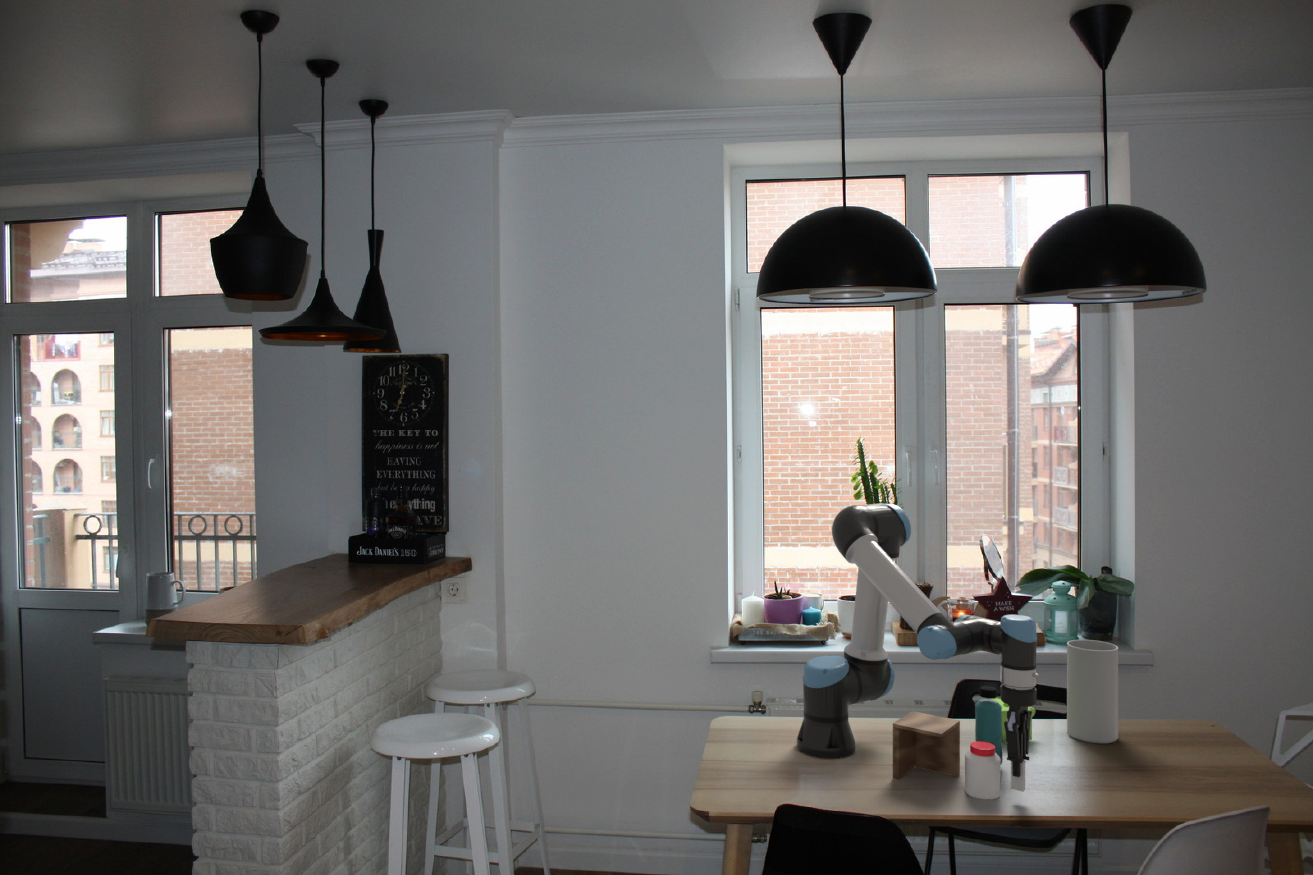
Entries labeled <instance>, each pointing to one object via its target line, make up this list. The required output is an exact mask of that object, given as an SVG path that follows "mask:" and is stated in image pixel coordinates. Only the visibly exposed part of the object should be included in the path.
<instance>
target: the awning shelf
mask: <svg viewBox="0 0 1313 875" xmlns="http://www.w3.org/2000/svg"><path fill="white" fill-rule="evenodd" d="M960 749H961V720H958V719H955V718H949V717H944V716H939V715H934V714H929V713H924V712H919V711H914V710H912V711H910V712H908V713H907V714H906V715H903V716H902V717H901V718H899V719H897V720H895V722H893V723H892V779H893V780H897V781H900V780H901V779H902V778H903V777H904V776H906V775H907V774H909V773H910V772H911V771H912V770H914V769H915V768H919V769H924V770H926V771H932V772H935V773H936V772H937V773H940V774H944V775H948V776H951V777H955V778H958V777H959V776H960V775H961V770H960V769H961V750H960Z"/></svg>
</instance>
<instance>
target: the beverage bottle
mask: <svg viewBox="0 0 1313 875" xmlns="http://www.w3.org/2000/svg"><path fill="white" fill-rule="evenodd" d="M997 691H998V690H997V688H996V687H994V686H989V685H987V686H986V685H983V686H980V687H979V693H978V694H979V697H981V699H979V700H978V701H976V702H975V704H974V707H975V713H974V714H975V719H974V720H975V725H974V727H975V728H974V729H975V730H974V731H975V732H974V733H975V734H974V736H975V737H974V739H975V742H976V741H982V742H988V743H991V744H993V745H994V746H995V753H996V754H997V755H998V756H999V757H1000V759H1001V765H1002V764H1003V760H1004V758H1003V755H1004V754H1003V748H1004V746H1003V743H1004V742H1003V741H1002V740H1003V739H1002V737H1003V736H1002V735H1003V734H1002V706H1001V705H1000V704H999V703H998V702H997V701H995V700H991V699H993V698H997V697H998V693H997Z"/></svg>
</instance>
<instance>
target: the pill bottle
mask: <svg viewBox="0 0 1313 875" xmlns="http://www.w3.org/2000/svg"><path fill="white" fill-rule="evenodd" d="M964 754H965V755H964V792H965V793H966V794H967V795H968V796H970V797H973V798H975V797H977V798H976V799H979V798H980V800H987V799H990V800H995V799H996V800H997V799H998V797H999V798H1000V797H1001V783H1002V782H1001V779H1002V778H1001V776H1002V775H1001V774H1002V772H1001V771H1002V770H1001V768H1002V767H1001V766H1002V764H1001V759H1000V757H999V756H998V755H997V754H996V753H995V746H994V745H993V744H991V743H988V742H982V741H976V740H975V741H972V742H970V745H969V750H968V751H966V753H964Z"/></svg>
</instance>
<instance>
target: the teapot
mask: <svg viewBox="0 0 1313 875" xmlns="http://www.w3.org/2000/svg"><path fill="white" fill-rule="evenodd" d="M990 699H991V700H995V701H997V702H998V703H999V704H1000V705H1001V706H1002V734H1003V735H1002V736H1003V737H1002V739H1003V740H1002V741H1003V743H1007V742H1006V731H1005V727H1004V723H1005V721H1007V722H1008V719H1007V711H1009V705H1008V704H1006V703H1004V702H1002V701H1001V698H998V696H997V698H990ZM1028 710H1031V711H1032V715H1031V721H1030V735H1029V741H1032V740H1033V717H1034V716H1035V714H1036V709H1035V708H1034V707H1033V706H1030V707H1028Z"/></svg>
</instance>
